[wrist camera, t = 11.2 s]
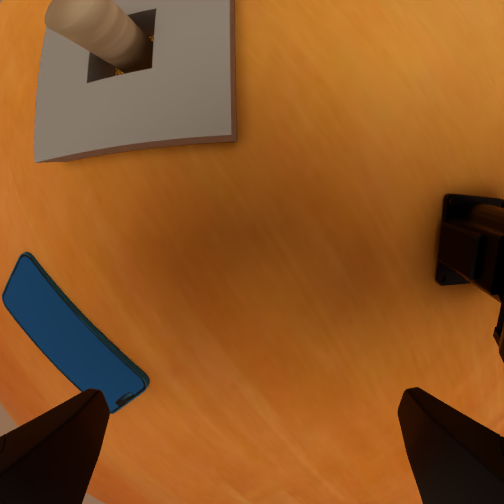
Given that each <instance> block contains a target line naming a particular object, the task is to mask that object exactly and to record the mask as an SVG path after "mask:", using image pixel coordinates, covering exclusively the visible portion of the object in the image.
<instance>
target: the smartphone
mask: <svg viewBox="0 0 504 504" xmlns="http://www.w3.org/2000/svg"><path fill="white" fill-rule="evenodd" d="M2 300H3V303H4V305H5V307H6V309H7V310H8V311H9V313H10V314H11V315H12V317H13V318H14V319H15V320H16V322H17V323H18V324H19V325H20V327H21V328H22V329H23V330H24V332H25V333H26V334H27V335H28V336H29V338H30V339H31V340H32V341H33V342H34V343H35V345H36V346H37V347H38V348H39V349H40V350H41V351H42V353H43V354H44V355H45V356H46V357H47V358H48V359H49V360H50V361H51V362H52V363H53V364H54V365H55V366H56V368H57V369H58V370H59V371H60V372H61V373H62V374H63V375H64V376H65V377H66V378H67V379H68V380H69V381H70V382H71V383H73V384H74V385H75V386H76V387H77V388H78V389H79V390H80V391H81V392H83V391H85V390H87V389H89V388H93V389H98V390H101V391H102V392H103V394H104V397H105V399H106V402H107V404H108V407H109V410H110V414H113V413H115V412H117V411H118V410H119V409H121V408H122V407H124V406H125V405H126V404H128V403H129V402H130V401H132V400H133V399H135V398H136V397H137V396H139V395H140V394H141V393H143V392H144V391H145V390H146V389H147V387H148V385H149V378H148V376H147V375H146V374H145V373H144V372H143V371H142V370H141V369H140V368H139V367H138V366H136V365H135V364H134V363H133V362H132V361H131V360H130V359H129V358H128V357H127V356H126V355H124V354H123V353H122V352H121V351H120V350H119V349H118V348H117V347H116V346H115V345H114V344H113V343H111V342H110V341H109V340H108V339H107V338H106V337H105V336H104V335H103V334H102V333H101V332H100V331H99V330H98V329H97V328H96V327H95V326H94V325H93V324H92V323H91V322H90V321H89V320H88V319H87V318H86V317H85V316H84V315H83V313H82V312H81V311H80V310H79V309H78V308H77V307H76V306H75V305H74V304H73V303H72V302H71V301H70V299H69V298H68V297H67V296H66V295H65V294H64V293H63V292H62V290H61V289H60V288H59V287H58V286H57V285H56V283H55V282H54V281H53V280H52V279H51V277H50V276H49V275H48V274H47V273H46V271H45V270H44V269H43V268H42V266H41V265H40V264H39V263H38V261H37V260H36V259H35V258H34V256H33V255H32V254H30V253H28V252H25V253H23V254H21V255H20V257H19V259H18V261H17V263H16V265H15V267H14V269H13V271H12V273H11V275H10V278H9V280H8V282H7V284H6V287H5V289H4V291H3V294H2Z"/></svg>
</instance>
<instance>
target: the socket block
mask: <svg viewBox="0 0 504 504" xmlns="http://www.w3.org/2000/svg"><path fill="white" fill-rule="evenodd" d="M113 1H114V2H115V3H116V4H117V5H118V6H119V7H120V8H121V9H122V10H123V11H124V12H125V13H126V14H127V15H128V16H129V17H130V18H131V19H132V20H133V21H134V23H135V24H136V25H137V26H138V27H139V28H140V29H141V30H142V31H143V32H144V33H145V34H146V35H147V36H150V35H154V43H153V60H152V68H151V69H146V70H141V71H136V72H131V73H126V74H122V75H117V76H114V73H115V67H114V66H113V65H111V64H109V63H108V62H106V61H104V60H103V59H101V58H100V57H98V56H96V55H95V54H93V53H91V52H90V51H88V50H86V49H84V48H83V47H81V46H79V45H78V44H76V43H74V42H72V41H71V40H69V39H67V38H65V37H63V36H62V35H60V34H58V33H56V32H54V31H53V30H51V29H49V28H48V27H47V28H46V32H45V37H44V43H43V48H42V54H41V61H40V68H39V76H38V84H37V95H36V109H35V136H34V153H35V163H41V162H66V161H71V160H76V159H81V158H87V157H93V156H99V155H105V154H111V153H118V152H125V151H132V150H140V149H148V148H157V147H166V146H177V145H188V144H201V143H217V142H237V126H236V77H235V0H113Z"/></svg>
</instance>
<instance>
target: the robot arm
mask: <svg viewBox="0 0 504 504" xmlns="http://www.w3.org/2000/svg"><path fill="white" fill-rule="evenodd" d="M450 199H452V203H451V204H450ZM500 205H501V207H500ZM442 276H443V279H442V280H441V277H442ZM436 282H437V283H438V284H439V285H442V286H444V285H456V284H467V283H472V284H473V285H475V286H476V287H478V288H479V289H481V290H482V291H484V292H485V293H487V294H488V295H490V296H491V297H493V298H494V299H496V300H497V301H499V302H500V303H501V308H500V313H499V318H498V322H497V327H495V330H494V334H493V336H494V338H495V340H496V342H497V344H498V346H499V354H500V356H501V358H502V360H503V362H504V200H503V199H497V198H489V197H480V196H471V195H461V194H450V193H449V194H447V195H446V196H445V197H444V206H443V220H442V226H441V236H440V245H439V253H438V265H437V271H436ZM109 416H110V410H109V407H108V404H107V402H106V399H105V397H104V394H103V392H102V391H101V390H98V389H93V388H89V389H87V390H85V391H83V392H81V393H80V394H78V395H76V396H74V397H73V398H71V399H69V400H67V401H65V402H64V403H62V404H60V405H58V406H56V407H55V408H53V409H51V410H49V411H47V412H46V413H44V414H42V415H40V416H38V417H36V418H35V419H33V420H31V421H29V422H27V423H25V424H24V425H22V426H20V427H18V428H16V429H14V430H12V431H10V432H9V433H7V434H4V435H3V436H1V437H0V504H82V502H83V499H84V496H85V493H86V490H87V487H88V485H89V482H90V479H91V476H92V473H93V471H94V468H95V465H96V462H97V460H98V457H99V454H100V450H101V447H102V443H103V439H104V435H105V431H106V427H107V423H108V420H109ZM398 418H399V422H400V426H401V430H402V435H403V439H404V443H405V448H406V452H407V456H408V459H409V462H410V465H411V468H412V471H413V474H414V477H415V480H416V483H417V486H418V489H419V492H420V495H421V499H422V502H423V504H504V437H503V436H500V435H499V434H497V433H495V432H494V431H492V430H490V429H488V428H487V427H485V426H483V425H481V424H480V423H478V422H476V421H474V420H473V419H471V418H469V417H468V416H466V415H464V414H462V413H461V412H459V411H457V410H456V409H454V408H452V407H451V406H449V405H447V404H445V403H444V402H442V401H440V400H439V399H437V398H435V397H434V396H432V395H430V394H429V393H427V392H425V391H424V390H422V389H420V388H418V387H414V388H409V389H406V390H405V391H404V393H403V396H402V399H401V402H400V404H399V407H398Z"/></svg>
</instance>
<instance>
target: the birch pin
mask: <svg viewBox="0 0 504 504" xmlns="http://www.w3.org/2000/svg"><path fill="white" fill-rule="evenodd" d="M45 24H46V26H47V27H48V28H49V29H51V30H53V31H54V32H56V33H58V34H60V35H62V36H63V37H65V38H67V39H69V40H71V41H72V42H74V43H76V44H78V45H79V46H81V47H83V48H84V49H86V50H88V51H90V52H91V53H93V54H95V55H96V56H98V57H100V58H101V59H103V60H104V61H106V62H108V63H109V64H111V65H113V66H114V67H116V68H117V69H119V70H121V71H122V72H124V73H125V74H126V73H131V72H136V71H141V70H146V69H151V68H152V60H153V42H152V41H151V40H150V39H149V37H148V36H147V35H146V34H145V33H144V32H143V31H142V30H141V29H140V28H139V27H138V26H137V25H136V24H135V23H134V21H133V20H132V19H131V18H130V17H129V16H128V15H127V14H126V13H125V12H124V11H123V10H122V9H121V8H120V7H119V6H118V5H117V4H116V3H115V2H114V1H113V0H52V2H51V3H50V5H49V7H48V9H47V11H46V15H45Z"/></svg>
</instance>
